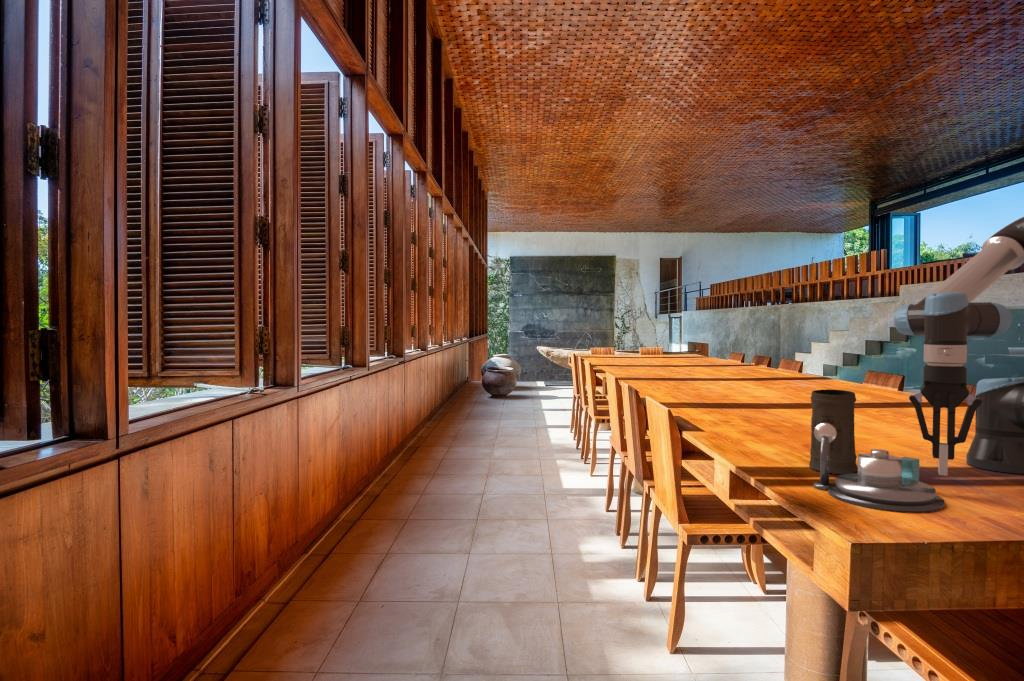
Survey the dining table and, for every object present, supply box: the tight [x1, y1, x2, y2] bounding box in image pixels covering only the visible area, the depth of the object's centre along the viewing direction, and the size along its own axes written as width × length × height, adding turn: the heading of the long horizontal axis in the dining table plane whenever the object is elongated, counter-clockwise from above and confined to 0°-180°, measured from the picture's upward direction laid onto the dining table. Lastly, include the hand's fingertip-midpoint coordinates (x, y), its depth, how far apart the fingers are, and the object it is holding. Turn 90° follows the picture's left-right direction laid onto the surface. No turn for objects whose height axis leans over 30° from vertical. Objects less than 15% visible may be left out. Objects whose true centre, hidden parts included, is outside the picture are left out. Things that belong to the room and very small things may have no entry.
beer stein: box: [808, 388, 858, 475], centre depth 153 cm, size 15×11×20 cm
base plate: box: [827, 482, 946, 513], centre depth 127 cm, size 21×21×1 cm
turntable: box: [834, 456, 937, 506], centre depth 128 cm, size 22×18×6 cm
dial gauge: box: [813, 423, 837, 492], centre depth 134 cm, size 4×4×15 cm
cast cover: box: [857, 448, 902, 489], centre depth 127 cm, size 8×8×7 cm
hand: (942, 473), depth 129 cm, fingers closed
